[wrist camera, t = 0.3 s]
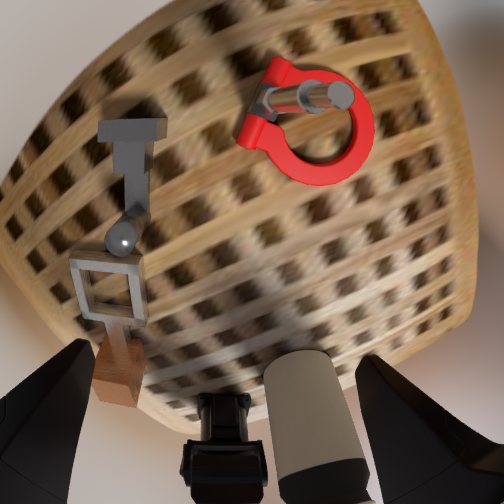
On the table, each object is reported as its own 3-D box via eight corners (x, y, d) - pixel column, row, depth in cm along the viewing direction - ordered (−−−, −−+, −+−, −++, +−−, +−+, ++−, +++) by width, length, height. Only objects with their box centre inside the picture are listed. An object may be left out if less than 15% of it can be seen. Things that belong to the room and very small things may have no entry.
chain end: (156, 364, 28) (148, 409, 22) (104, 356, 27) (89, 398, 22) (142, 255, 21) (120, 300, 16) (76, 249, 21) (42, 288, 15)
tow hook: (382, 105, 18) (274, 47, 15) (523, 134, 6) (365, -29, 4) (339, 197, 21) (228, 153, 18) (445, 297, 10) (248, 230, 7)
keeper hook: (163, 230, 21) (149, 258, 17) (115, 227, 20) (93, 254, 16) (167, 118, 17) (150, 119, 13) (114, 119, 16) (86, 122, 12)
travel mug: (250, 383, 30) (266, 529, 14) (286, 340, 27) (326, 515, 11) (306, 393, 32) (336, 519, 16) (344, 355, 29) (397, 496, 13)
